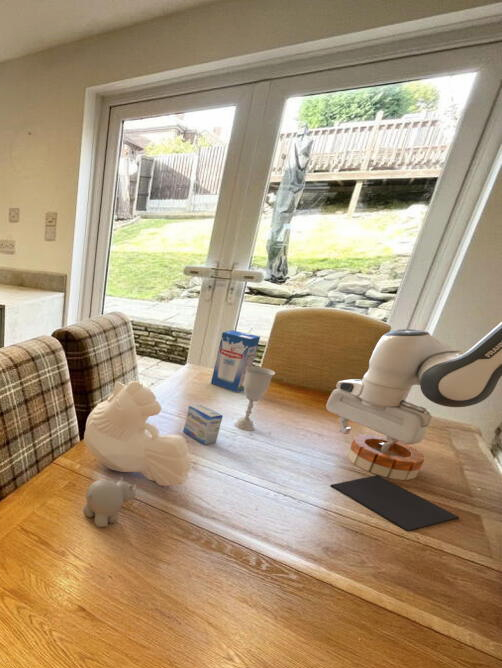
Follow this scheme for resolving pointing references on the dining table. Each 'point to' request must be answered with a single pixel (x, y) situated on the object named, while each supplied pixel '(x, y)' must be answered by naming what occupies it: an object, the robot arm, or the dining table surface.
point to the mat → (394, 502)
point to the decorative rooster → (135, 437)
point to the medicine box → (202, 424)
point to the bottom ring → (381, 467)
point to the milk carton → (234, 359)
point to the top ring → (407, 462)
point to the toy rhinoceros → (107, 500)
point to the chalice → (254, 391)
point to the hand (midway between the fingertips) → (362, 441)
